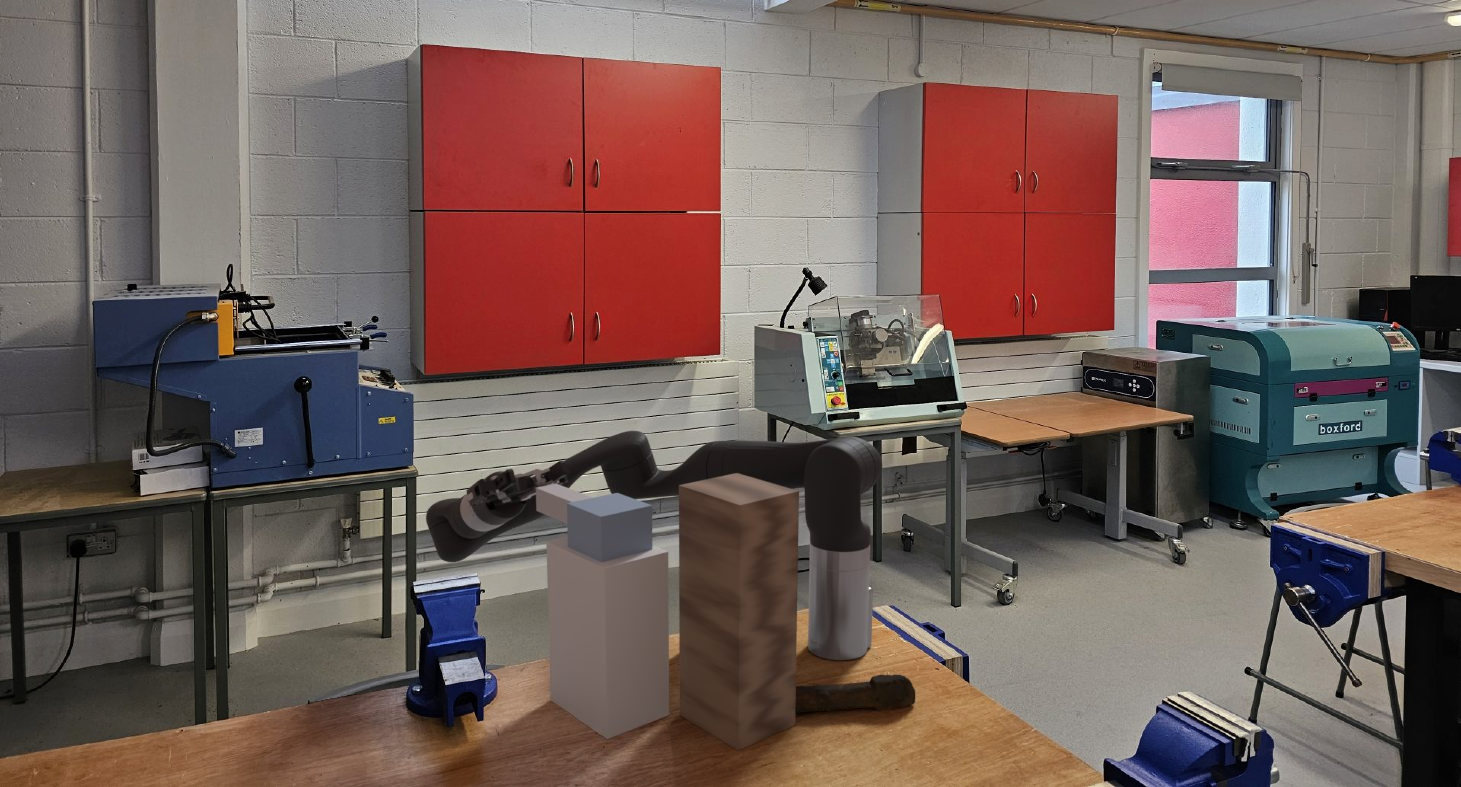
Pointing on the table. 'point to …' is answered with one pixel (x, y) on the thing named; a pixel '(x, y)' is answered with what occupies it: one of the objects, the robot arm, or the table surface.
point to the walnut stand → (738, 607)
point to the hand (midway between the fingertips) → (539, 471)
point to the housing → (599, 521)
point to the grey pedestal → (609, 637)
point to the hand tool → (857, 695)
